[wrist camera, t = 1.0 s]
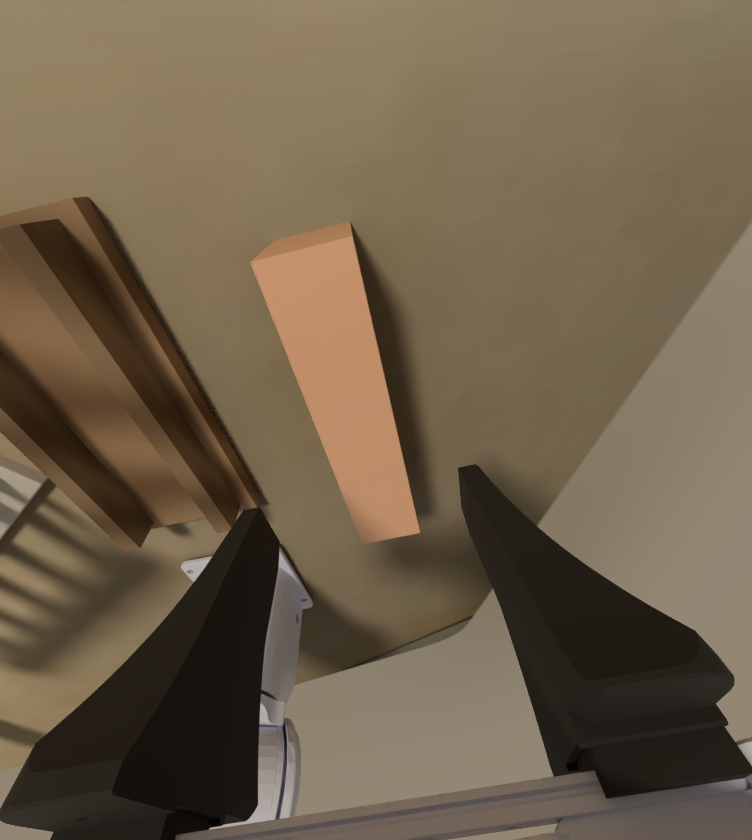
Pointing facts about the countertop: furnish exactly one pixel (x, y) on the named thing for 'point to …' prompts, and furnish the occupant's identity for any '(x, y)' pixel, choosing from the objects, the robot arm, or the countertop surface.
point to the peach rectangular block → (340, 372)
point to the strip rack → (104, 383)
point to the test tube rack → (16, 490)
